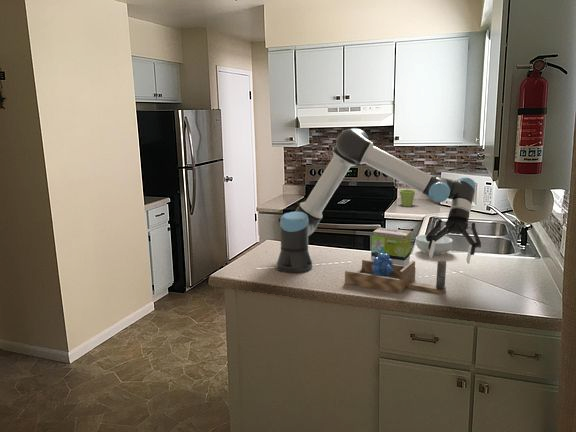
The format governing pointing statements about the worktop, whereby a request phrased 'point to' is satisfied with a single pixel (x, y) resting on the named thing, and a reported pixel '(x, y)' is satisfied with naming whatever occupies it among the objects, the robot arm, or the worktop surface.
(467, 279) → the worktop surface
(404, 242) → the tea box
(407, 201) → the plant pot
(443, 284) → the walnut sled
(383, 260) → the grapes
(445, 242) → the cereal bowl
